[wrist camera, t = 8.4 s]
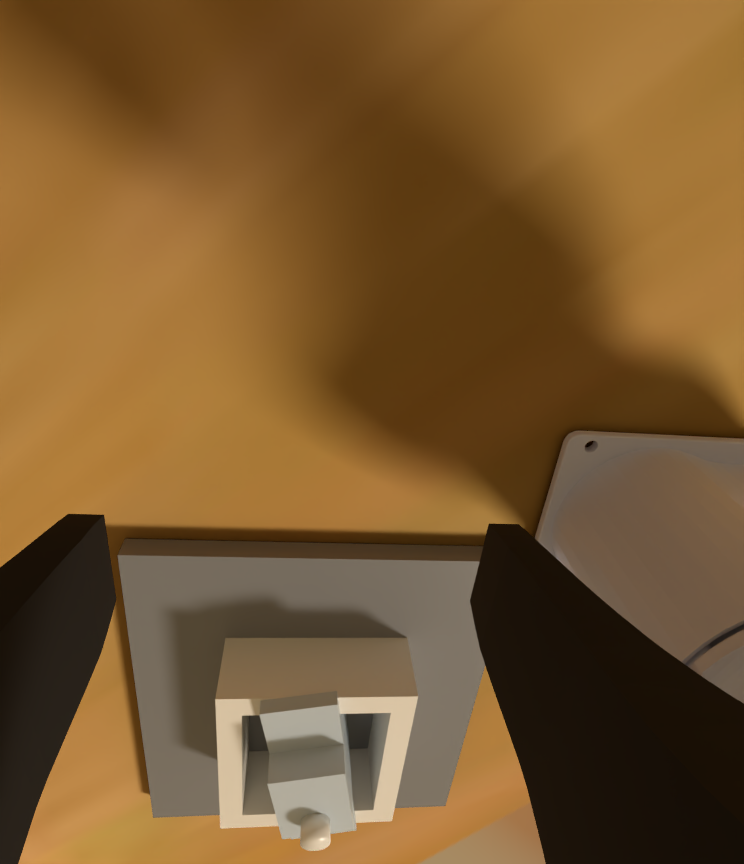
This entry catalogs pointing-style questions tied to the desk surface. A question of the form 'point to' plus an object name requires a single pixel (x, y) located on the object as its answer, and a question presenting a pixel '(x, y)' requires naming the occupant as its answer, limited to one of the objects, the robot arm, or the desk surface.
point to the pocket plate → (299, 665)
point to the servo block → (309, 767)
